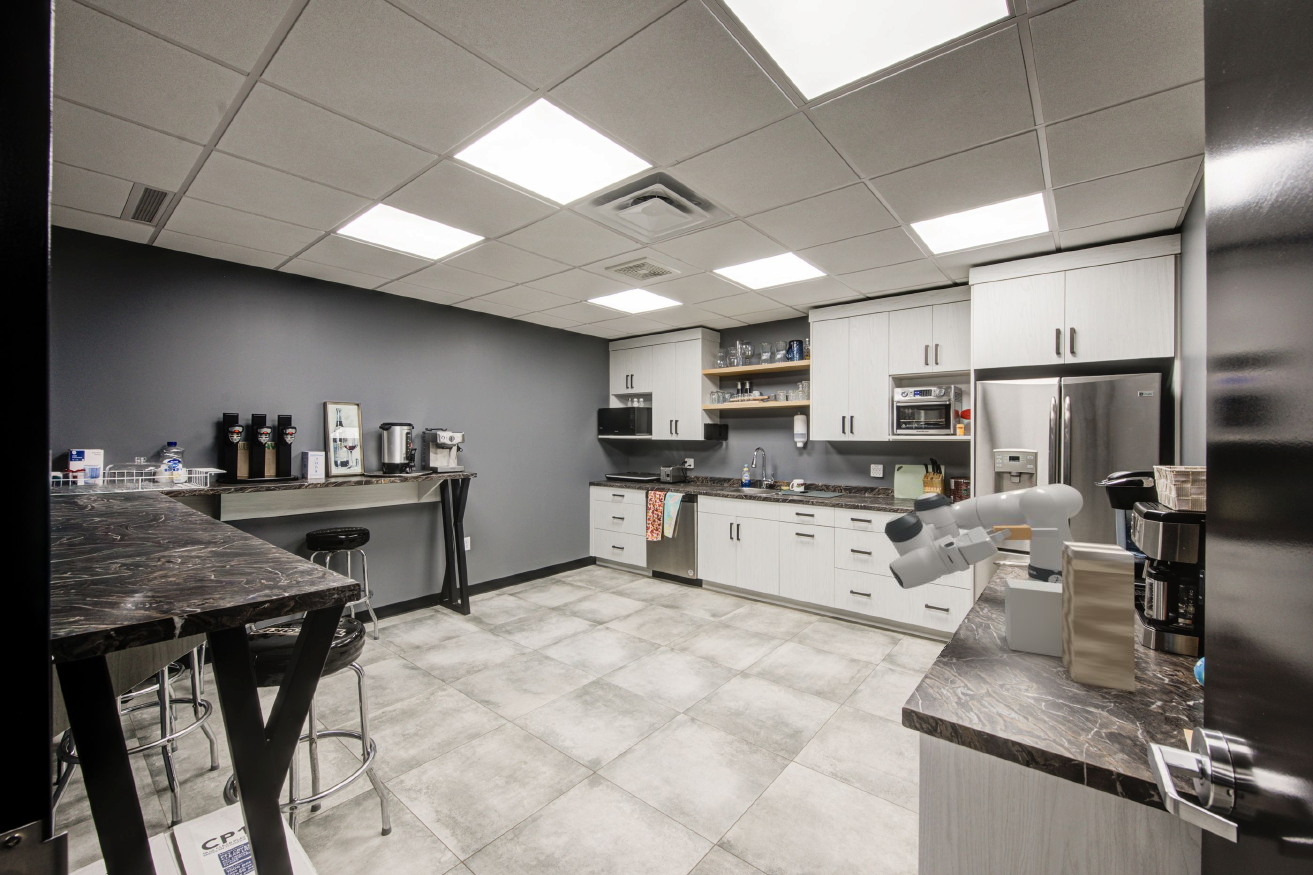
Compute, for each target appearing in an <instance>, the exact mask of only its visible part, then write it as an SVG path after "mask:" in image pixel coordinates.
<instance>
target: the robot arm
mask: <svg viewBox="0 0 1313 875" xmlns="http://www.w3.org/2000/svg"><path fill="white" fill-rule="evenodd" d="M1083 499H1084V498H1083V495H1082V494H1081V493H1080V491H1079V490H1078V489H1076V488H1074V487H1073V486H1072V485H1071V486H1070V485H1067V484H1064V483H1051V484H1049V483H1048V484H1042V485H1037V486H1036V485H1035V486H1033V487H1028V488H1022V489H1021V488H1020V489H1014V490H1008V491H1004V492H1002V491H1001V492H996V493H991V494H985V495H980V496H974V497H970V498H967V499H966V498H965V499H963V500H961V501H958V502H956V503H952V502H954V500H953V498H948V497H947V496H946V495H945V494H943V493H939V492H927V493H923V494H921V495H920V496H918V497H917V498H915V500H914V501H913V510H914V512H915V513H912V512H904V513H900V514H897V515H895V516H893V517H892V518H890V519H889V520H888V521H887V522H886V523H885V527H884V534H885V535H886V536H887V538H888V539H889V541H891V543H892V545H893V547H894V548H895V550H896V551H897V553H898V555H899V557H898V558H896V559H894V560H893V561H891V562H890V563H889V569H890V571H891V574H892V575H893V577H894V579H895V580H896V582H897V583H898V584H899V586H900V587H901V588H902V589H904V590H907V589H908V590H909V589H912V588H917V587H920V586H924V585H926V584H930V583H932V582H934V581H936V580H938V579H940V578H941V577H943V576H946V575H952V574H954V573H956V572H965V571H967V570H970V568H971V567H970V566H973V565H976V564H978V563H980V562H982V561H984V560H986V559H988V558H990V557H992V556H994V555H995V554H996V553H998V552H999V549H998V548H997V546H996V544H999V543H1000V542H1002V541H1004V540H1003V539H1005V538H1007V537H1009V536H1011V535H1012V533H1011V532H1010V530H1009V529H1008V528H1005V529H1003V530H1000V531H999V532H997V533H995V534H994V531H993V526H1030V527H1031V528H1057V529H1058V530H1059V537H1032V540H1029V563H1028V565H1027V575H1028V576H1027V578H1026V580H1029V581H1039V582H1049V583H1059V584H1062V541H1070V542H1075V540H1074V538H1073V536H1072V533H1071V529H1070V528H1071V527H1070V525H1069V519H1071V518H1073V517H1075V516H1076V515H1077V514H1078V513H1080V512H1081V510H1082V508H1083V506H1084V500H1083ZM960 530H963V531H964V530H965V531H966V530H967V531H966V532H963V533H962V534H961V533H960Z"/></svg>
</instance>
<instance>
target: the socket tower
mask: <svg viewBox="0 0 1313 875" xmlns="http://www.w3.org/2000/svg"><path fill="white" fill-rule="evenodd" d="M1135 657H1136V656H1135V554H1133V553H1131V552H1130V551H1128V550H1126V549H1125V548H1123V547H1121V546H1120V545H1119V544H1113V543H1111V544H1110V543H1098V542H1097V543H1096V542H1095V543H1094V542H1079V541H1074V542H1070V541H1062V657H1061V658H1062V661H1061V662H1062V663H1063V665H1064V666H1065V668H1066V669H1067V671H1068V674H1069V675H1070V677H1071V679H1072V680H1073V682H1074V683H1079V684H1085V685H1090V686H1096V687H1103V688H1108V689H1114V690H1119V691H1120V690H1121V691H1126V692H1133V693H1135V692H1136V691H1135V689H1136V688H1135V687H1136V686H1135V685H1136V684H1135V683H1136V682H1135V680H1136V679H1135V673H1136V672H1135V670H1136V669H1135V661H1136V660H1135Z"/></svg>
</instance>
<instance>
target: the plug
mask: <svg viewBox="0 0 1313 875" xmlns="http://www.w3.org/2000/svg"><path fill="white" fill-rule="evenodd" d="M1005 528H1008V529H1009V530H1010V532H1011V533H1012V535H1011V536H1009V537H1007V538H1005V539H1003V540H1002V541H1030V540H1032V537H1059V530H1058V529H1057V528H1031V527H1030V526H1027V525H1019V526H993V531H994V534H995V533H997V532H999V531H1000V530H1003V529H1005Z"/></svg>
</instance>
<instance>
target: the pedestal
mask: <svg viewBox="0 0 1313 875" xmlns="http://www.w3.org/2000/svg"><path fill="white" fill-rule="evenodd" d="M1004 582H1005V584H1004V585H1005V586H1004V593H1005V596H1004V597H1005V598H1004V601H1005V602H1004V606H1005V607H1004V608H1005V609H1004V612H1005V613H1004V614H1005V615H1004V616H1005V617H1004V619H1005V620H1004V621H1005V627H1004V628H1005V630H1004V632H1005V639H1006V641H1007V644H1008V647H1009V649H1010V651H1011V650H1012V651H1018V652H1026V653H1031V654H1032V653H1033V654H1038V655H1045V656H1052V657H1059V658H1062V584H1059V583H1049V582H1039V581H1029V580H1027V579H1026V580H1025V579H1017V578H1010V577H1009V578H1008V577H1006V578H1004Z"/></svg>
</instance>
